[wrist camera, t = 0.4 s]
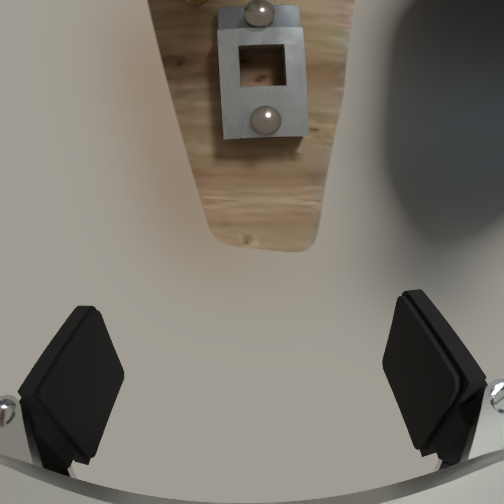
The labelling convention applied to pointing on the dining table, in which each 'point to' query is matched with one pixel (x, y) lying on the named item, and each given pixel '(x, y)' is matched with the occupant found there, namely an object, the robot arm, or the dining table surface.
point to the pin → (195, 2)
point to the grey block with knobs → (262, 97)
